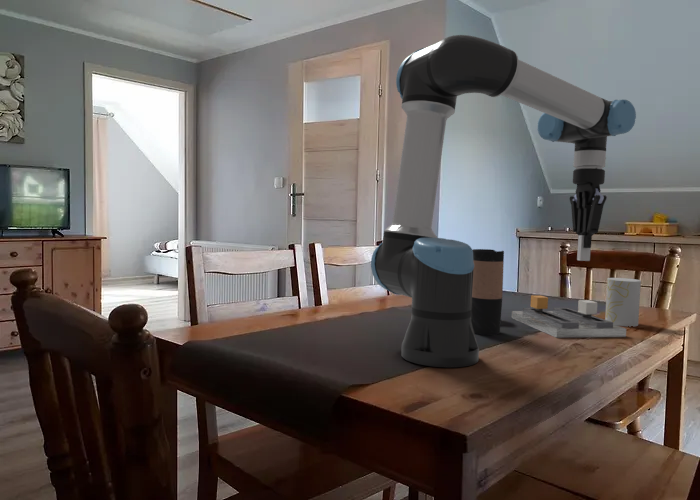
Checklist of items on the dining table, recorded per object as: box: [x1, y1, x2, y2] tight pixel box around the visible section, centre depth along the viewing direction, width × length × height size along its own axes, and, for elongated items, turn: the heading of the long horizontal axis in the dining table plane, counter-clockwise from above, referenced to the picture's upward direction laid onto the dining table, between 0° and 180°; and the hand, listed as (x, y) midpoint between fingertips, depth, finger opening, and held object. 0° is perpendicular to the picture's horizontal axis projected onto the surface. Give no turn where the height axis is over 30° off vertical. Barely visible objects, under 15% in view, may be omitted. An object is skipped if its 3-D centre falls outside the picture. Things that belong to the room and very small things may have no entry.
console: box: [511, 307, 627, 339], centre depth 145 cm, size 18×24×3 cm
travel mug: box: [471, 248, 505, 336], centre depth 136 cm, size 8×8×20 cm
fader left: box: [529, 295, 549, 313], centre depth 150 cm, size 3×4×5 cm
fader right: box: [577, 299, 598, 319], centre depth 143 cm, size 3×4×5 cm
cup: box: [604, 277, 642, 327], centre depth 152 cm, size 8×8×12 cm
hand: (583, 260), depth 145 cm, fingers closed
